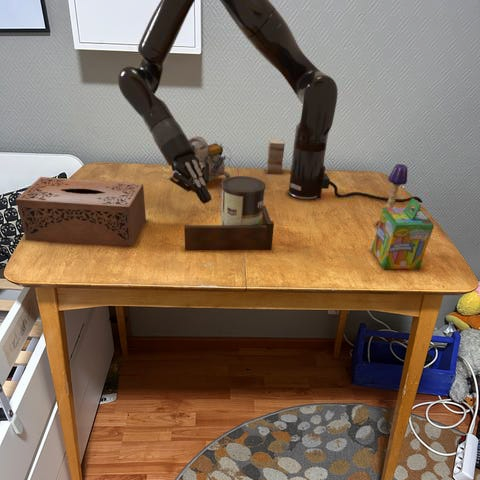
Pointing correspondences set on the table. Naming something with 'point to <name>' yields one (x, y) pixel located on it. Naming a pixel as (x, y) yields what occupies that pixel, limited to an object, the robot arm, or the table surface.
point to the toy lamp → (396, 183)
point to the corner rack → (230, 236)
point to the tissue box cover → (82, 211)
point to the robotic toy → (209, 156)
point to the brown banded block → (275, 156)
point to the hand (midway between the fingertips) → (207, 201)
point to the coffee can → (242, 201)
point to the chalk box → (402, 237)
